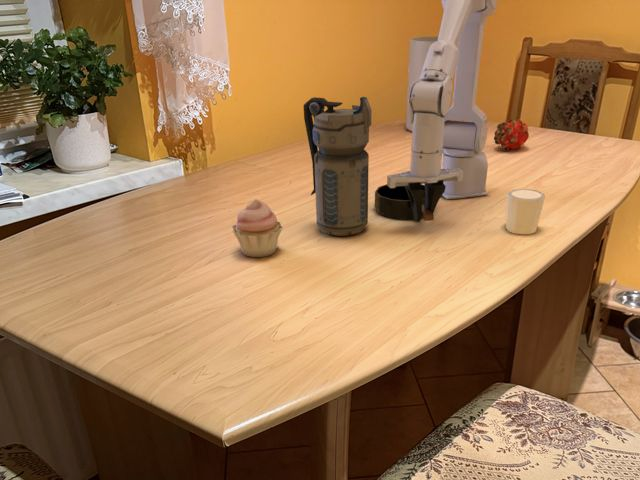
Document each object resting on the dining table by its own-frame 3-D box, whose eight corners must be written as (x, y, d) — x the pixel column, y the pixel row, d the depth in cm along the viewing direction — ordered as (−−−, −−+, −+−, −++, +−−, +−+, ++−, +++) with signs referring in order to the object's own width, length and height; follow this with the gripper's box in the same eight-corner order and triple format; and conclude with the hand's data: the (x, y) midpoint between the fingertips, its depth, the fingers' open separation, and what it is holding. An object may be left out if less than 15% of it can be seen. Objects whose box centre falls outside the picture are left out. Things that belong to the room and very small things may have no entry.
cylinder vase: (404, 133, 191) (408, 41, 178) (406, 124, 201) (411, 36, 188) (447, 134, 189) (454, 41, 176) (447, 124, 199) (453, 36, 186)
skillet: (368, 203, 139) (368, 185, 137) (420, 198, 141) (421, 180, 139) (399, 237, 122) (400, 217, 120) (457, 230, 124) (459, 210, 122)
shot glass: (540, 224, 126) (546, 189, 122) (538, 237, 120) (544, 201, 117) (504, 221, 128) (509, 187, 124) (501, 233, 122) (506, 198, 119)
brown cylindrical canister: (321, 215, 133) (318, 88, 120) (379, 224, 128) (382, 92, 115) (296, 231, 126) (290, 98, 113) (356, 242, 120) (357, 103, 107)
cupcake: (243, 265, 113) (237, 211, 108) (228, 247, 120) (222, 195, 115) (292, 255, 116) (289, 202, 111) (274, 238, 123) (271, 187, 118)
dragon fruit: (493, 159, 171) (516, 156, 179) (520, 144, 164) (542, 142, 172) (482, 129, 171) (506, 128, 179) (508, 113, 164) (532, 112, 172)
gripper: (396, 158, 113) (394, 230, 121) (472, 151, 116) (465, 222, 123) (384, 148, 119) (382, 218, 126) (456, 142, 122) (450, 210, 129)
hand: (422, 219), depth 125 cm, fingers closed on skillet, 2 cm apart
